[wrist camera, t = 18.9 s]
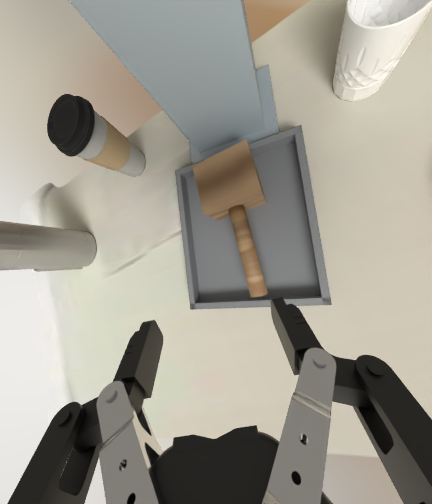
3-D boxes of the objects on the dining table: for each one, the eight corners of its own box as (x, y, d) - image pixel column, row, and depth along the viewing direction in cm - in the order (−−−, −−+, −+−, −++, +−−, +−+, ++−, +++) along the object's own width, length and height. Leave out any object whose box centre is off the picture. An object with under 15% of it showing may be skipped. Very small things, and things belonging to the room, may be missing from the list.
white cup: (323, 68, 29) (340, -23, 19) (387, 38, 26) (442, -85, 16) (333, 115, 28) (355, 44, 19) (399, 90, 25) (464, -8, 16)
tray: (327, 299, 28) (331, 304, 25) (198, 305, 36) (190, 309, 33) (300, 137, 30) (301, 124, 27) (183, 177, 38) (175, 170, 35)
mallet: (290, 286, 29) (290, 293, 23) (236, 296, 32) (225, 304, 26) (254, 159, 31) (246, 138, 26) (207, 180, 35) (192, 166, 29)
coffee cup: (117, 158, 45) (39, 114, 31) (145, 135, 42) (73, 75, 28) (127, 192, 43) (51, 161, 29) (157, 170, 40) (87, 125, 26)
